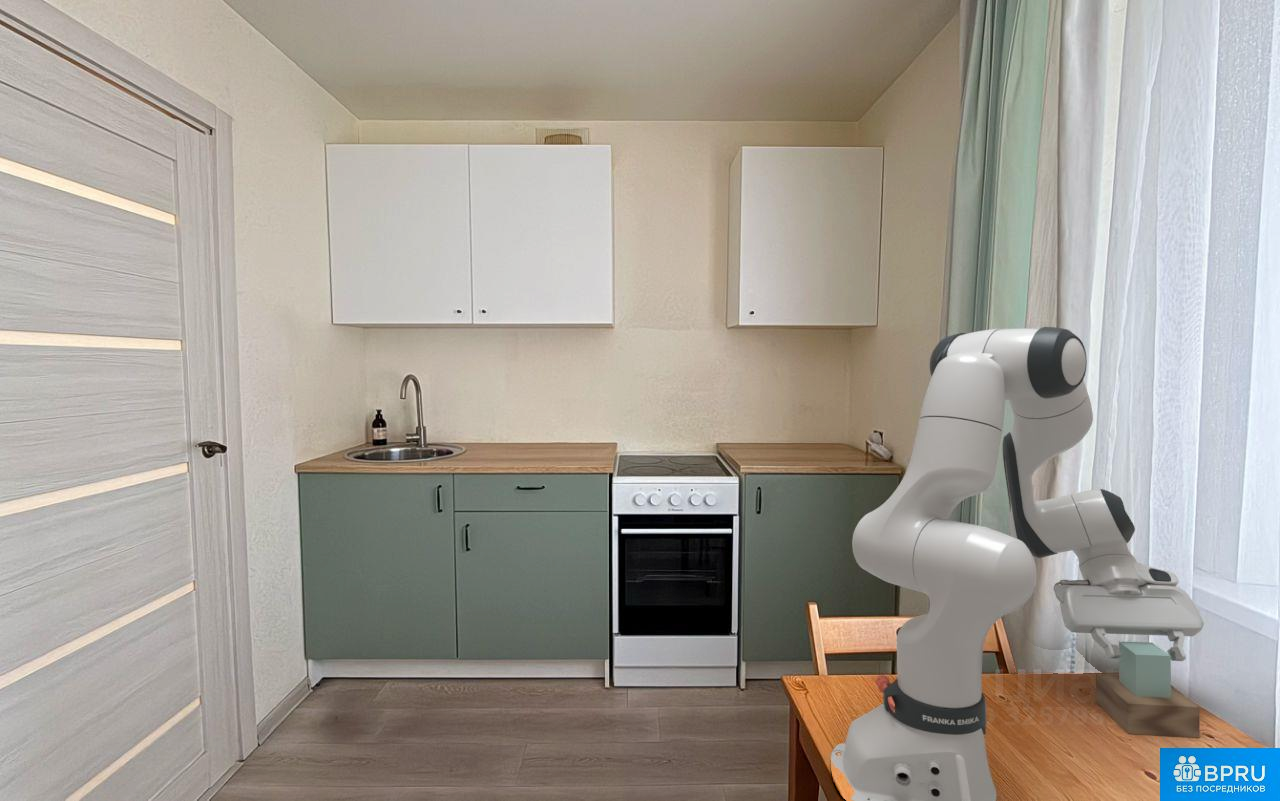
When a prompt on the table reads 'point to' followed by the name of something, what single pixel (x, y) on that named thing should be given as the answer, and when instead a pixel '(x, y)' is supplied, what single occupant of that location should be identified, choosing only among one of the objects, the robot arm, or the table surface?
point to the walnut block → (1147, 710)
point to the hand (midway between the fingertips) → (1146, 658)
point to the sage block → (1145, 669)
